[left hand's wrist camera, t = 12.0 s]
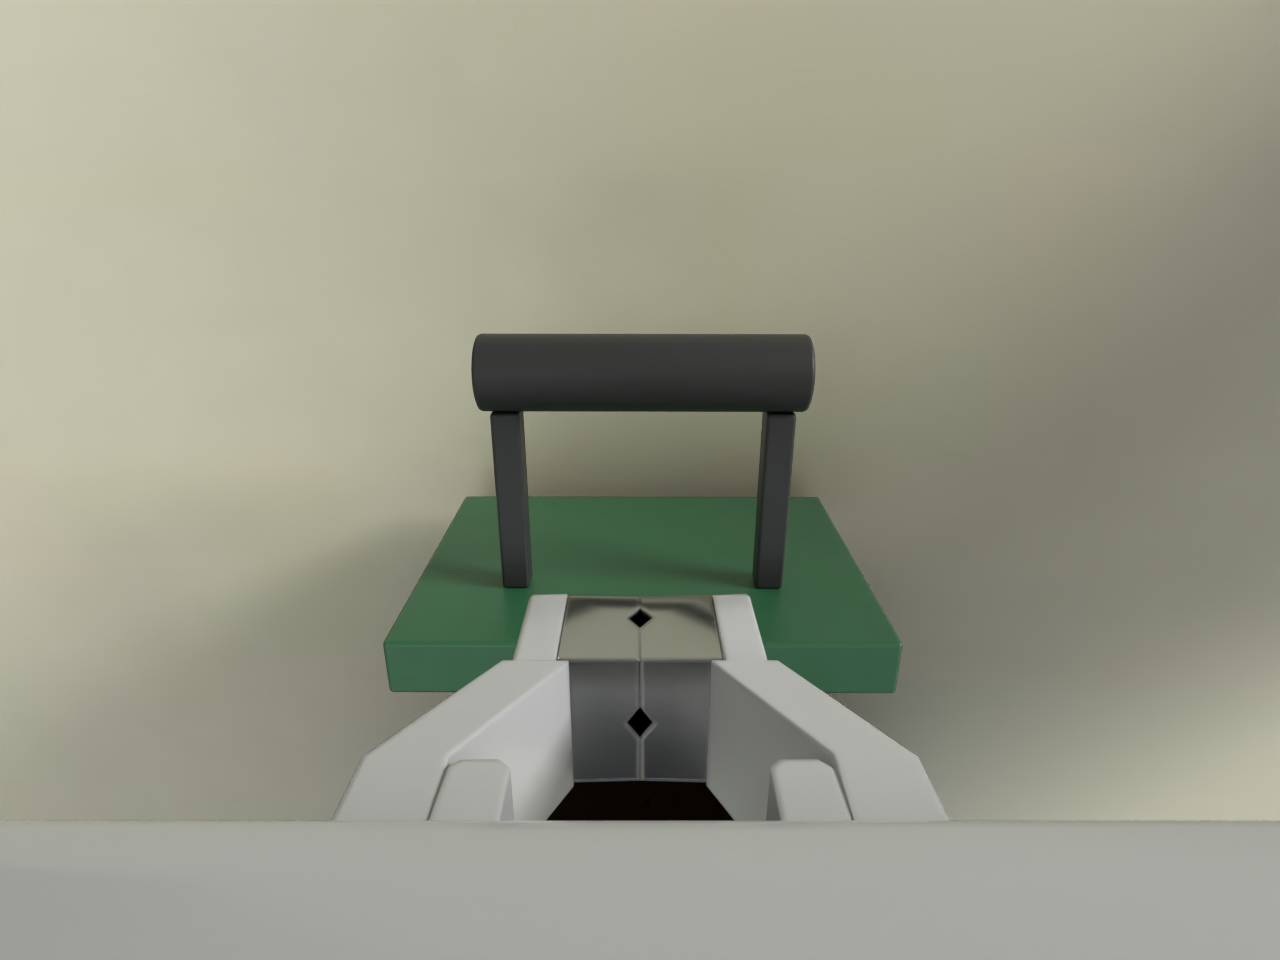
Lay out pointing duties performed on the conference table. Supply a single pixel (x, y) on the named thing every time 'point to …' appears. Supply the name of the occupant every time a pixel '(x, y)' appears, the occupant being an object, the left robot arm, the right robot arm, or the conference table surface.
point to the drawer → (643, 534)
